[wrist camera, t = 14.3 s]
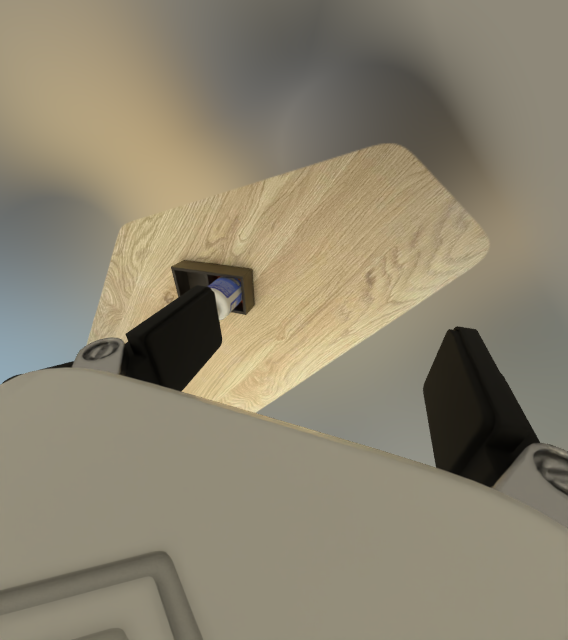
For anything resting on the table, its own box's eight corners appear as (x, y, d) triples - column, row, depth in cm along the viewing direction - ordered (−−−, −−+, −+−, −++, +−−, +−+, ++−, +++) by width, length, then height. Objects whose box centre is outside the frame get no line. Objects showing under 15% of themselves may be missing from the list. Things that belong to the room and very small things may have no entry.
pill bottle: (215, 275, 44) (179, 299, 37) (240, 269, 42) (208, 294, 34) (227, 302, 47) (196, 331, 39) (252, 298, 44) (224, 328, 37)
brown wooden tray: (184, 259, 46) (170, 266, 43) (252, 268, 42) (242, 276, 39) (191, 294, 50) (179, 302, 47) (254, 305, 46) (246, 314, 43)
